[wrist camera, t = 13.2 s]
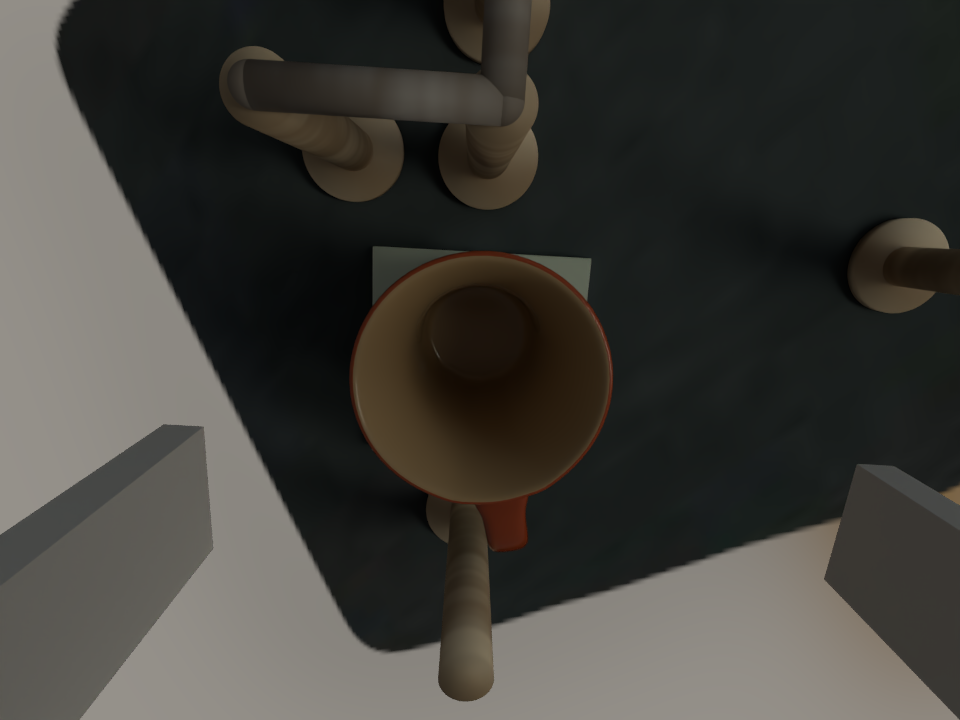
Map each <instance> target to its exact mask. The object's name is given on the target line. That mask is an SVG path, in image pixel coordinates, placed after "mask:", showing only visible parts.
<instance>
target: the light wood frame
mask: <svg viewBox="0 0 960 720" xmlns="http://www.w3.org/2000/svg"><path fill="white" fill-rule="evenodd" d="M549 11H550V0H444V14H445V21H446V25H447V28H448V31H449V34H450V36H451V38H452V40H453V42H454V43H455V44H456V46H457V47H458V48H459V50H460V51H461V52H462V53H463V54H464V55H466V56H467V57H468V58H470V59H471V60H473V61H474V62H477V63H479V64H481V70H480V71H479V72H478V73H476V74H470V73H455V72H440V71H425V70H410V69H395V68H380V67H365V66H350V65H335V64H320V63H305V62H291V61H284V60H283V59H281V58H280V57H279V56H278V55H277V54H275V53H274V52H272V51H270V50H268V49H266V48H262V47H257V46H249V47H244V48H241V49H239V50H237V51H235V52H234V53H232V54H231V55H230V56H229V57H228V58H227V60H226V61H225V63H224V64H223V67H222V69H221V72H220V78H219V89H220V94H221V98H222V100H223V103H224V105H225V107H226V108H227V110H228V111H229V112H230V114H231V115H232V116H233V117H234V118H235V119H236V120H238V121H239V122H241V123H242V124H244V125H246V126H248V127H251V128H253V129H255V130H257V131H260V132H262V133H264V134H266V135H269V136H271V137H273V138H275V139H278V140H280V141H282V142H284V143H287V144H289V145H291V146H294V147H296V148H298V149H300V150H302V154H303V159H304V162H305V165H306V168H307V170H308V172H309V174H310V175H311V177H312V178H313V180H314V181H315V182H316V183H317V184H318V185H319V186H320V187H321V188H322V189H323V190H324V191H326V192H327V193H328V194H330V195H332V196H334V197H336V198H339V199H342V200H346V201H351V202H365V201H370V200H373V199H375V198H378V197H380V196H381V195H383V194H384V193H386V192H387V191H388V190H389V189H390V188H391V187H392V186H393V185H394V183H395V182H396V180H397V179H398V177H399V175H400V173H401V170H402V167H403V162H404V144H403V139H402V135H401V132H400V130H399V128H398V126H397V124H396V122H395V121H394V120H406V121H422V122H437V123H449V124H448V126H447V127H446V129H445V131H444V133H443V135H442V138H441V141H440V145H439V152H438V162H439V168H440V172H441V175H442V178H443V180H444V182H445V184H446V185H447V187H448V189H449V190H450V191H451V193H452V194H453V195H454V196H455V197H456V198H457V199H459V200H460V201H461V202H463V203H465V204H466V205H468V206H471V207H474V208H477V209H483V210H492V209H498V208H502V207H505V206H507V205H509V204H511V203H513V202H514V201H516V200H517V199H518V198H519V197H521V196H522V195H523V194H524V193H525V191H526V190H527V189H528V187H529V186H530V184H531V182H532V181H533V178H534V176H535V173H536V169H537V163H538V149H537V143H536V139H535V137H534V134H533V132H532V130H531V127H532V125H533V123H534V121H535V119H536V116H537V112H538V95H537V91H536V88H535V85H534V83H533V81H532V80H531V78H530V77H529V76H528V75H527V63H528V54H529V53H530V52H531V51H532V50H533V49H534V48H535V46H536V45H537V44H538V42H539V40H540V39H541V37H542V35H543V32H544V30H545V27H546V24H547V21H548V17H549Z"/></svg>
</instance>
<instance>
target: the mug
mask: <svg viewBox="0 0 960 720" xmlns="http://www.w3.org/2000/svg"><path fill="white" fill-rule="evenodd" d="M349 384H350V395H351V401H352V406H353V410H354V413H355V417H356V419H357V422H358V425H359V427H360V429H361V431H362V433H363V435H364V437H365V439H366V441H367V442H368V444H369V445H370V447H371V449H372V450H373V451H374V453H375V454H376V455H377V456H378V458H379V459H380V460H381V461H382V462H383V463H384V464H385V465H386V466H387V467H388V468H389V469H390V470H391V471H392V472H394V473H395V474H396V475H397V476H398V477H400V478H401V479H403V480H404V481H405V482H407V483H408V484H410V485H412V486H414V487H415V488H417V489H419V490H421V491H423V492H425V493H427V494H429V495H432V496H434V497H436V498H439V499H442V500H445V501H448V502H451V503H458V504H471V505H475V506H476V508H477V510H478V511H479V513H480V515H481V517H482V520H483V524H484V528H485V533H486V538H487V542H488V545H489V547H490V548H491V550H493V551H495V552H509V551H515V550H519V549H521V548H523V547H525V546H526V544H527V542H528V532H527V525H526V505H527V501H528V496H530V495H533V494H536V493H539V492H541V491H543V490H545V489H547V488H549V487H550V486H552V485H553V484H554V483H556V482H557V481H558V480H560V479H561V478H562V477H563V476H565V475H566V474H567V473H568V472H569V471H570V470H571V469H572V468H573V467H574V466H575V465H576V464H577V463H578V462H579V461H580V460H581V459H582V458H583V457H584V455H585V454H586V453H587V452H588V450H589V449H590V448H591V446H592V445H593V443H594V441H595V440H596V438H597V436H598V434H599V432H600V430H601V428H602V426H603V424H604V421H605V419H606V416H607V413H608V409H609V406H610V401H611V395H612V387H613V366H612V359H611V352H610V348H609V344H608V341H607V338H606V335H605V332H604V329H603V327H602V325H601V323H600V321H599V319H598V317H597V315H596V314H595V312H594V311H593V309H592V307H591V306H590V305H589V303H588V302H587V301H586V300H585V298H584V297H583V296H582V295H581V294H580V293H579V292H578V291H577V289H576V288H575V287H574V286H572V285H571V284H570V283H569V282H568V281H567V280H565V279H564V278H563V277H561V276H560V275H558V274H557V273H556V272H554V271H553V270H551V269H549V268H547V267H545V266H544V265H542V264H540V263H537V262H535V261H532V260H530V259H527V258H524V257H521V256H518V255H514V254H509V253H504V252H495V251H469V252H460V253H455V254H450V255H446V256H443V257H440V258H437V259H434V260H431V261H429V262H427V263H424V264H422V265H420V266H418V267H416V268H415V269H413V270H411V271H409V272H408V273H406V274H405V275H404V276H402V277H401V278H399V279H398V280H397V281H396V282H395V283H393V284H392V285H391V286H390V287H389V288H388V289H387V290H386V291H385V292H384V293H383V294H382V295H381V296H380V297H379V298H378V300H377V301H376V302H375V304H374V305H373V306H372V308H371V309H370V311H369V312H368V314H367V316H366V317H365V319H364V321H363V323H362V325H361V327H360V329H359V331H358V334H357V337H356V340H355V343H354V347H353V351H352V355H351V362H350V373H349Z"/></svg>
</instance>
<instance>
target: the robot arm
mask: <svg viewBox="0 0 960 720" xmlns="http://www.w3.org/2000/svg"><path fill="white" fill-rule="evenodd" d="M212 549H213V540H212V528H211V515H210V502H209V490H208V477H207V464H206V452H205V439H204V427H199V426H182V425H162V426H161V427H159V428H158V429H156V430H155V431H154V432H152V433H151V434H149V435H148V436H146V437H145V438H143V439H142V440H140V441H139V442H137V443H136V444H134V445H133V446H131V447H130V448H128V449H127V450H125V451H124V452H123V453H121V454H119V455H118V456H117V457H115V458H114V459H112V460H111V461H109V462H108V463H106V464H105V465H103V466H102V467H100V468H99V469H97V470H96V471H95V472H93V473H92V474H90V475H88V476H87V477H86V478H84V479H82V480H81V481H79V482H78V483H77V484H75V485H73V486H72V487H71V488H69V489H68V490H66V491H65V492H63V493H62V494H60V495H59V496H57V497H56V498H54V499H53V500H51V501H50V502H48V503H47V504H45V505H44V506H42V507H41V508H40V509H38V510H36V511H35V512H34V513H32V514H31V515H29V516H28V517H26V518H25V519H23V520H22V521H20V522H19V523H17V524H16V525H15V526H13V527H11V528H10V529H8V530H7V531H5V532H4V533H2V534H1V535H0V720H80V718H81V717H82V716H83V714H84V713H85V712H86V711H87V709H88V708H89V707H90V706H91V704H92V703H93V702H94V700H95V699H96V698H97V697H98V695H99V694H100V693H101V691H102V690H103V689H104V687H105V686H106V685H107V684H108V683H109V681H110V680H111V679H112V677H113V676H114V675H115V674H116V672H117V671H118V670H119V668H120V667H121V666H122V665H123V663H124V662H125V661H126V659H127V658H128V657H129V656H130V654H131V653H132V652H133V651H134V649H135V648H136V647H137V645H138V644H139V643H140V642H141V640H142V639H143V637H144V636H145V635H146V634H147V632H148V631H149V630H150V629H151V627H152V626H153V625H154V624H155V622H156V621H157V619H159V617H160V616H161V615H162V613H163V612H164V611H165V610H166V608H167V607H168V606H169V604H170V603H171V602H172V601H173V599H174V598H175V597H176V595H177V594H178V593H179V591H180V590H181V589H182V587H183V586H184V585H185V584H186V582H187V581H188V580H189V579H190V578H191V576H192V575H193V574H194V572H195V571H196V570H197V568H198V567H199V566H200V565H201V563H202V562H203V561H204V560H205V558H206V557H207V556H208V554H209V553H210V552H211V551H212ZM824 579H825V580H826V581H827V583H828V584H829V585H830V586H831V587H832V588H833V589H834V590H835V591H836V592H837V593H838V594H839V595H840V596H841V597H842V598H843V599H844V600H845V601H846V602H847V603H848V604H849V605H850V606H851V608H853V610H854V611H855V612H856V613H858V615H859V616H860V617H861V618H862V619H863V620H864V621H865V622H866V623H867V624H868V625H869V626H870V627H871V628H872V629H873V630H874V631H875V632H876V633H877V634H878V636H879V637H880V638H881V639H882V640H883V641H884V642H885V643H886V644H887V645H888V646H889V647H890V648H891V649H892V650H893V651H894V652H895V653H896V654H897V655H898V656H899V657H900V658H901V659H902V660H903V661H904V662H905V663H906V665H907V666H908V667H909V668H910V669H911V670H912V671H913V672H914V673H915V674H916V675H917V676H918V677H919V678H920V679H921V680H922V681H923V682H924V683H925V684H926V685H927V686H928V687H929V688H930V689H931V690H932V692H933V693H934V694H936V696H937V697H938V698H939V699H940V700H941V701H942V702H943V703H944V704H945V705H946V706H947V707H948V708H949V709H950V710H951V711H952V712H953V713H954V714H955V715H956V716H957V717H958V718H959V719H960V505H958V504H956V503H955V502H953V501H951V500H950V499H948V498H946V497H945V496H943V495H941V494H940V493H938V492H936V491H935V490H933V489H931V488H930V487H928V486H926V485H924V484H923V483H921V482H919V481H918V480H916V479H914V478H913V477H911V476H909V475H908V474H906V473H904V472H903V471H901V470H899V469H898V468H896V467H894V466H883V465H865V464H857V466H856V469H855V473H854V476H853V480H852V483H851V487H850V490H849V494H848V497H847V501H846V504H845V508H844V511H843V515H842V518H841V522H840V525H839V529H838V532H837V536H836V540H835V543H834V547H833V550H832V553H831V557H830V561H829V564H828V567H827V571H826V574H825V578H824Z"/></svg>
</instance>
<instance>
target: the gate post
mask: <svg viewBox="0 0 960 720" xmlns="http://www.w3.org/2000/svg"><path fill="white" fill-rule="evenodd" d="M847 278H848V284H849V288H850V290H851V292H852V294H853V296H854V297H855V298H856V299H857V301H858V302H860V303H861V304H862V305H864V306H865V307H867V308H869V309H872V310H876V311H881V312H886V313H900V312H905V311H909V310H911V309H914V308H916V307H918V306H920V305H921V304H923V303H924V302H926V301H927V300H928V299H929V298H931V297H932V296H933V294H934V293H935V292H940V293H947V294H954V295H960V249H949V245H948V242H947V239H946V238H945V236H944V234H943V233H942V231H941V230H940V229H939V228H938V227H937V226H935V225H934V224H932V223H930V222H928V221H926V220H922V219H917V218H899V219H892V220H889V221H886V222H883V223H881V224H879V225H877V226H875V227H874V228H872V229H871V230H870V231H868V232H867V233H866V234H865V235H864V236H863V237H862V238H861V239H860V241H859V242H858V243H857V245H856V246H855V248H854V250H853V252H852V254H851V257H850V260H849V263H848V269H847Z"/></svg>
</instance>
